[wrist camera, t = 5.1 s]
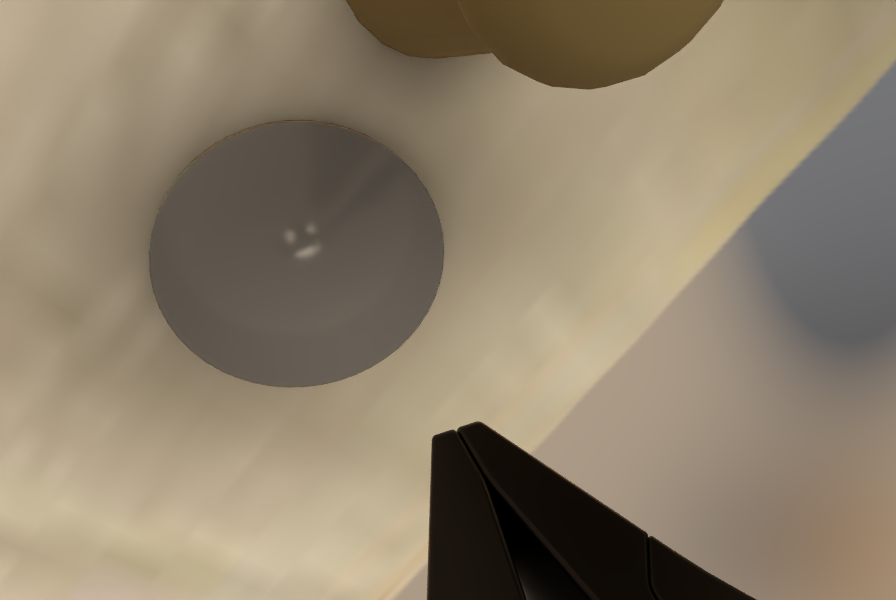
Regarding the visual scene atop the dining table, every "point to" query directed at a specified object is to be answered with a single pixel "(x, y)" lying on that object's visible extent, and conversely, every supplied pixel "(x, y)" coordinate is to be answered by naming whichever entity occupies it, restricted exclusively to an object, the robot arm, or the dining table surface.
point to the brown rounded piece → (543, 33)
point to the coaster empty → (296, 254)
